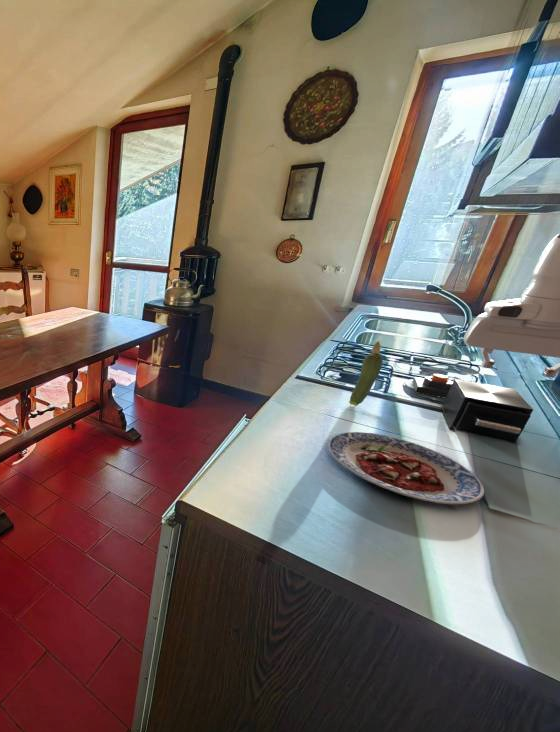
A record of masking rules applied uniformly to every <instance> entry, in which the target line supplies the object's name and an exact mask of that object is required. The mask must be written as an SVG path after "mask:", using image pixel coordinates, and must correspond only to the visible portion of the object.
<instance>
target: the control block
mask: <svg viewBox="0 0 560 732" xmlns="http://www.w3.org/2000/svg"><path fill="white" fill-rule="evenodd" d="M432 376H433V375H426V376H424V378H423V377H417V376H414V377H413V378H412V381H411V382H412V383H413V384H412V383H411V384H412V386H414V387H413V389H415V390H414V393H416V392H419V393H418V394H421V393H424V394H423V395H426V394H429V395H428V396H431V395H434V397H437V396H440V397H439V398H442V397H445V398H444V399H446V397H447V395H448V393H449V390H450V388H451V386H452V384H453V382H454V381H452V380H450V379H448V381H447V383H443V382H437V381H434V380H432Z"/></svg>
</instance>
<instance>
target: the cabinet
mask: <svg viewBox="0 0 560 732" xmlns="http://www.w3.org/2000/svg"><path fill="white" fill-rule="evenodd" d="M452 382H453V384H452V386H451V388H450V390H449V393H448V395H447V397H446V398H444V402H443V403H442V404H441V405H442V406H441V408H440V411H441V413H442V416H443V419H444V420H445V423H446V425H447V427H448V429H449V430H450V431H452V432H453V431H454V432H456V429H455V428H456V426H457V423H458V421H459V419H460V417H461V414H462V412H463V410H464V408H465V406H466V404H467V402H468V400H469V401H474V402H479V403H484V404H490V405H495V406H500V407H505V408H511V409H516V410H521V411H522V413H527V414H530V415H532V413H533V411H534V409H533V407H532V406H531V405H530V404H529V402H527V401H526V399H525V398H524V397H523V396H522V395H521V394H520V393H519V392H518V390H516V389H515V388H510V387H504V386H498V385H493V384H487V383H481V382H476V381H470V380H463V379H457V378H455V379H453V381H452ZM454 427H455V428H454Z"/></svg>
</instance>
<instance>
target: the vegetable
mask: <svg viewBox="0 0 560 732" xmlns="http://www.w3.org/2000/svg"><path fill="white" fill-rule="evenodd" d="M380 353H381V343H380V341H378V340H377V341H376V342H375V343H374V345H373V346H372V349H371V353H369V354H367V355H365V357H364V359H363V360H362V362H361V363H362V364H361V369H360V375H359V377H358V381H357V382H356V384H355V386H354V387H353V390H352V392H351V395H350V398H349V401H348V403H349V405H351V406H354V407H358V406H359V405H360V404H361V403H363V402H364V400H365V399H366V398H367V397H368V395H369V394H370V391H371V389H372V387H373V386H374V384H375V382H376V380H377V378H378V376H379V374H380V372H381V369H382V366H383V363H384V362H383V361H384V360H383V357H382V355H380Z"/></svg>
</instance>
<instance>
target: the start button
mask: <svg viewBox="0 0 560 732" xmlns="http://www.w3.org/2000/svg"><path fill="white" fill-rule="evenodd" d="M431 376H432V380H434V381H437V382H443V383H447V381H448V380H449V378H450V376H448V375H445V374H441V373H433V374H432V375H431Z"/></svg>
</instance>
